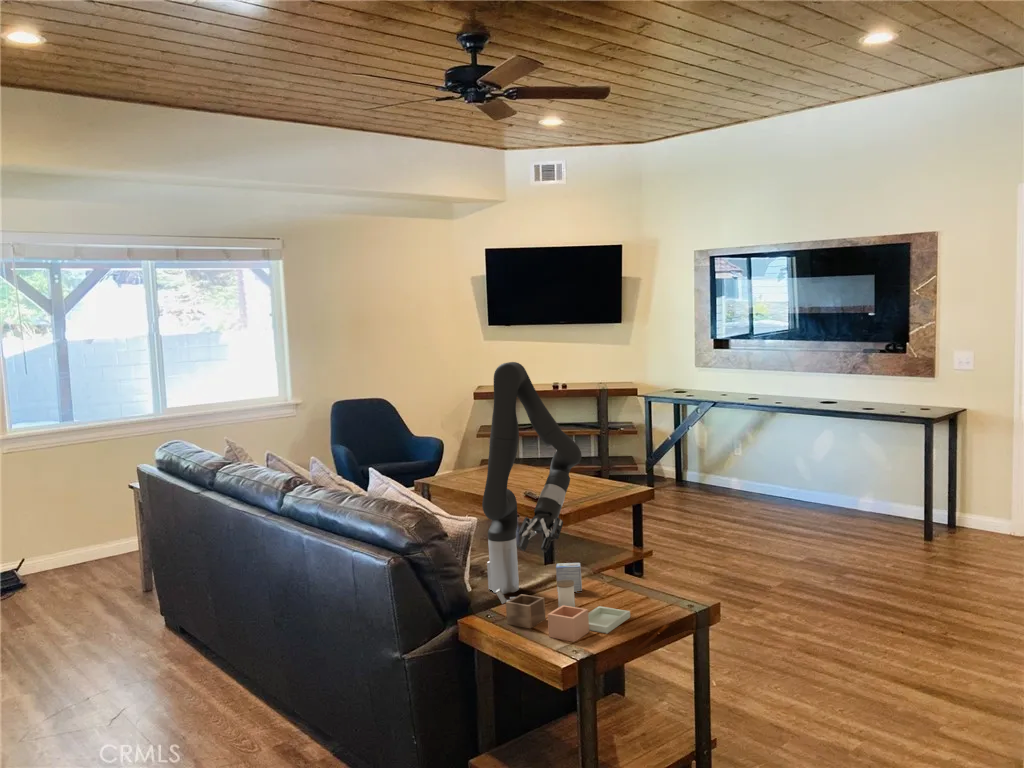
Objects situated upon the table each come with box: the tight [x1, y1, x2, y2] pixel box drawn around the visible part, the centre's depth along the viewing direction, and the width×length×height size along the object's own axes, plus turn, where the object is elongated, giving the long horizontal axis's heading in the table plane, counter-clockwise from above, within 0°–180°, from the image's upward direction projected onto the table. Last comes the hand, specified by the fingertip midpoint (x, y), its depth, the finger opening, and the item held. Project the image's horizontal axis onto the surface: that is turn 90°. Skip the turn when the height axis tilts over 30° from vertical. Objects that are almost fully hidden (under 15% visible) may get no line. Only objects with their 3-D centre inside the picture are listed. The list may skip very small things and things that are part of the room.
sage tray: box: [588, 605, 631, 634], centre depth 215 cm, size 10×14×2 cm
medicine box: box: [555, 562, 583, 593], centre depth 247 cm, size 8×4×9 cm, turn 84°
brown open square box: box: [505, 593, 546, 629], centre depth 219 cm, size 8×8×7 cm
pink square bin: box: [547, 605, 590, 643], centre depth 207 cm, size 8×8×7 cm
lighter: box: [495, 588, 516, 605], centre depth 227 cm, size 7×2×8 cm, turn 88°
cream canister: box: [556, 580, 576, 608], centre depth 224 cm, size 5×5×10 cm
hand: (532, 550), depth 226 cm, fingers open, 8 cm apart
